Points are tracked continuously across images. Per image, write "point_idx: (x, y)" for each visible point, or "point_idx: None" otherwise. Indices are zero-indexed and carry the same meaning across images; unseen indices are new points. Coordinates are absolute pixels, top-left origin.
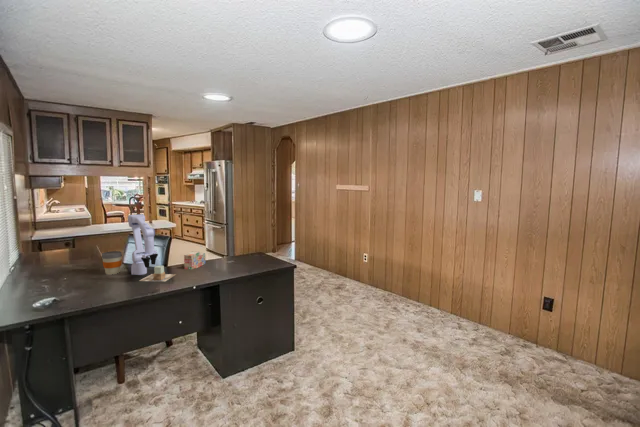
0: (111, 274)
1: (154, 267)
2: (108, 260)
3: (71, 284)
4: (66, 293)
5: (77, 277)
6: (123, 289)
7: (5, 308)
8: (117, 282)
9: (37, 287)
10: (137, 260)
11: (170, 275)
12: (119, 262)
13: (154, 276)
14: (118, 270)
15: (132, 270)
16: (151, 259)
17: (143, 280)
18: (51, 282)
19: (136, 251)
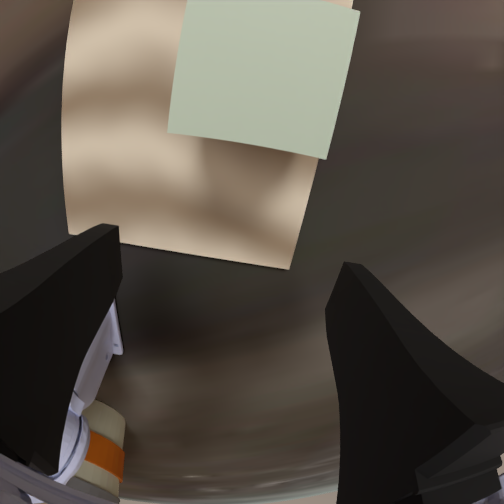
0: (121, 415)
1: (325, 152)
2: (114, 486)
3: (265, 464)
4: None
5: (179, 466)
6: (437, 299)
7: None
8: (264, 377)
9: (281, 487)
10: (70, 426)
11: (111, 10)
12: None
13: None
14: (89, 411)
15: (101, 374)
16: (77, 352)
17: (282, 233)
18: (235, 484)
19: (30, 495)
